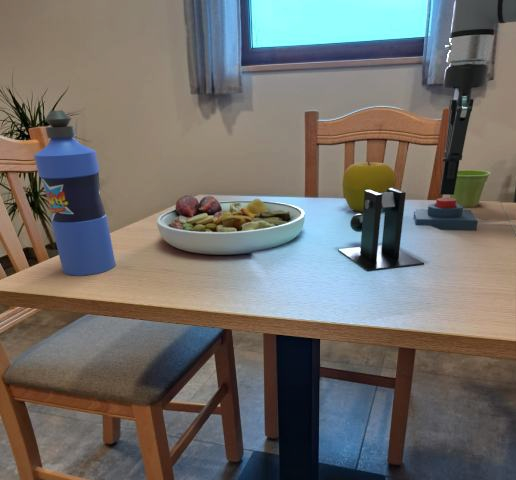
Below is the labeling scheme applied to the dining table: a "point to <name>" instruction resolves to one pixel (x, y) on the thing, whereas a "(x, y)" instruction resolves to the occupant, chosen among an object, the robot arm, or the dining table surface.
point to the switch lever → (385, 207)
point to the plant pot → (469, 187)
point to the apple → (366, 182)
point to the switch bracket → (389, 251)
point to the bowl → (229, 225)
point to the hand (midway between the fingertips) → (446, 193)
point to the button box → (446, 218)
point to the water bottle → (74, 200)
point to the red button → (446, 203)
